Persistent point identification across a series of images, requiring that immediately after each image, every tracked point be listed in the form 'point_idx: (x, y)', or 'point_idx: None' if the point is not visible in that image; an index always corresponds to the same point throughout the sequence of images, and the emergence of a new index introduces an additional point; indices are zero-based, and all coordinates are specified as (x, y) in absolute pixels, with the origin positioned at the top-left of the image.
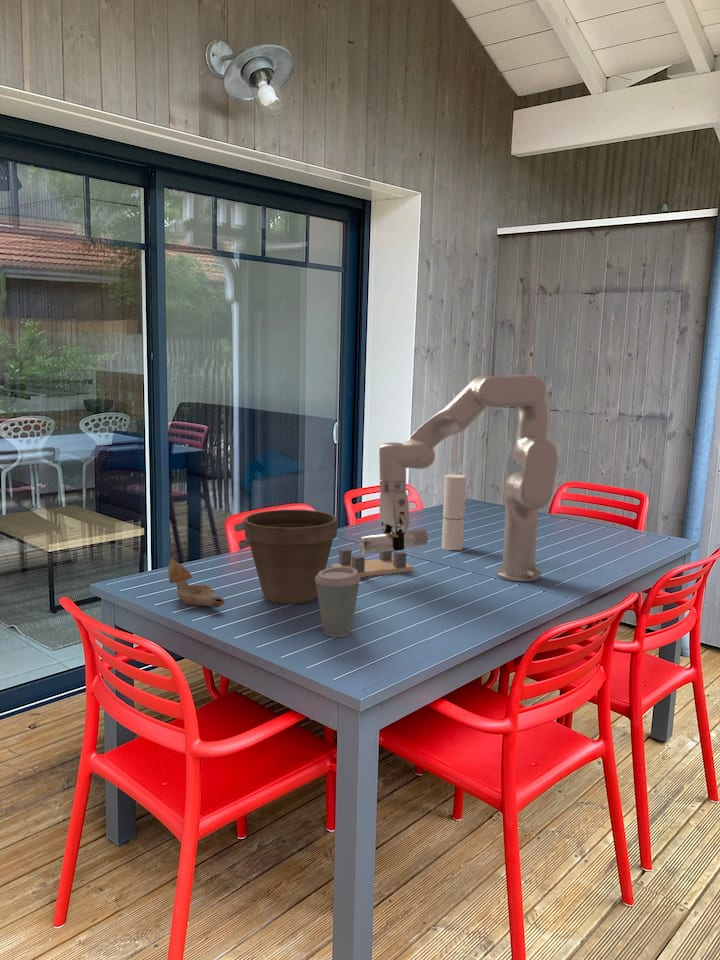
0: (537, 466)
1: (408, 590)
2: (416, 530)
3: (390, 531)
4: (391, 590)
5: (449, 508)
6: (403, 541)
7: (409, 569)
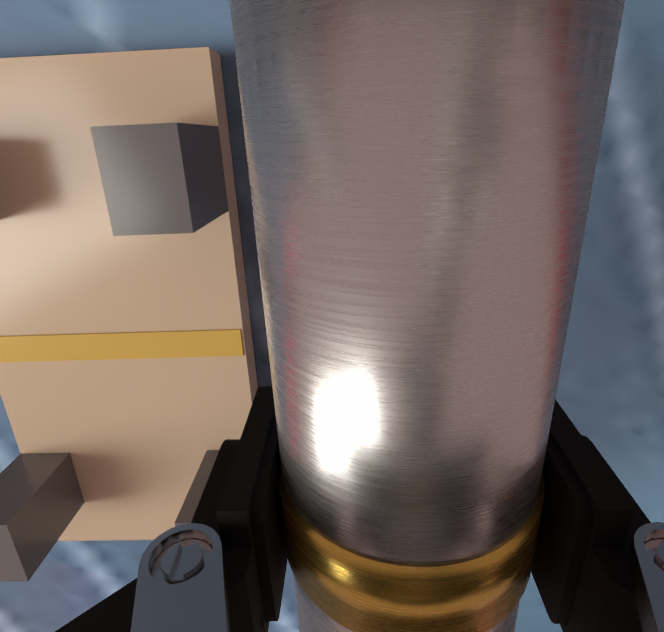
0: None
1: (613, 312)
2: (504, 110)
3: (252, 574)
4: (559, 400)
5: None
6: (586, 452)
7: (218, 87)
